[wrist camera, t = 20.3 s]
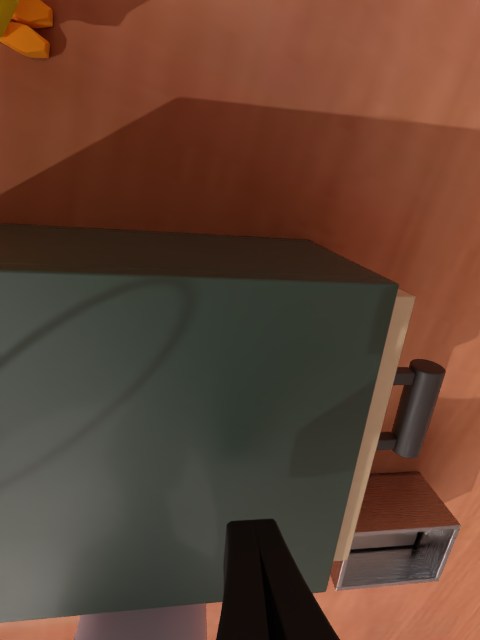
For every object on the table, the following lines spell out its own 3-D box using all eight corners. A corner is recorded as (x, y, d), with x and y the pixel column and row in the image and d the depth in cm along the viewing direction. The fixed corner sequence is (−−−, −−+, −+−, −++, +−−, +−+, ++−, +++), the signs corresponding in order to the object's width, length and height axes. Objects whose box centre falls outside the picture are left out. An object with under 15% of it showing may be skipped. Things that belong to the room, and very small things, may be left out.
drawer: (409, 259, 18) (524, 299, 12) (362, 450, 22) (428, 554, 16) (-3, 239, 15) (-138, 278, 9) (36, 461, 19) (-37, 592, 13)
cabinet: (309, 240, 18) (400, 284, 10) (280, 451, 22) (326, 592, 15) (-50, 220, 15) (-297, 258, 8) (3, 460, 20) (-116, 635, 12)
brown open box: (402, 522, 26) (438, 581, 23) (314, 529, 25) (335, 591, 22) (419, 471, 25) (461, 525, 21) (324, 476, 24) (350, 533, 20)
